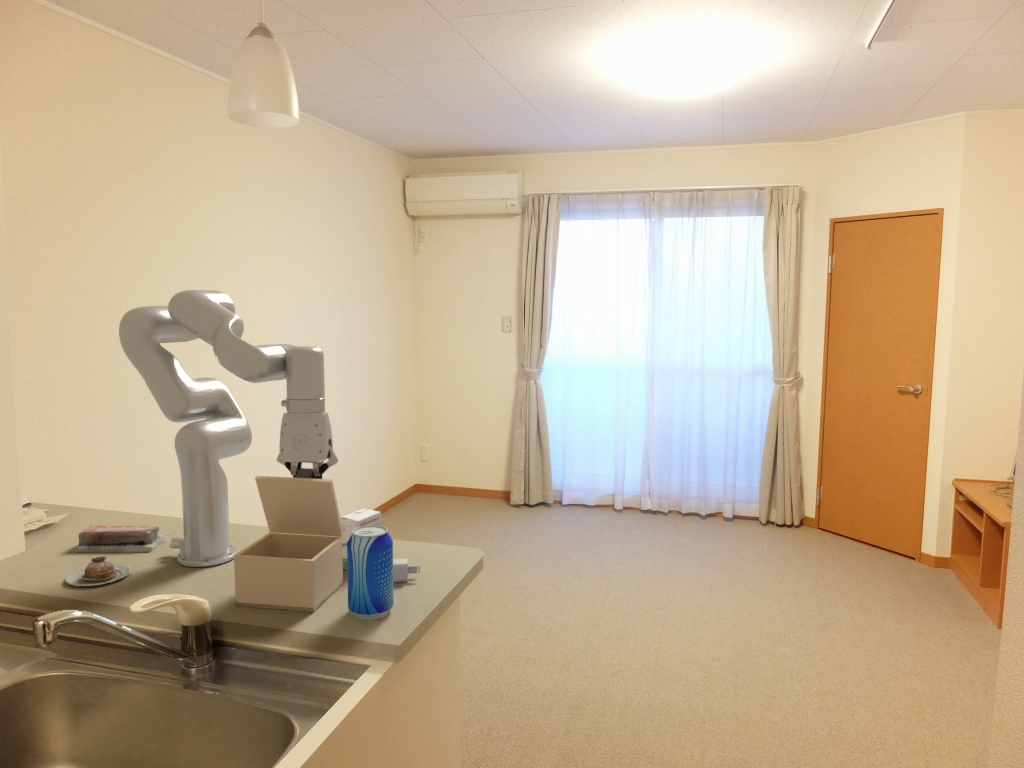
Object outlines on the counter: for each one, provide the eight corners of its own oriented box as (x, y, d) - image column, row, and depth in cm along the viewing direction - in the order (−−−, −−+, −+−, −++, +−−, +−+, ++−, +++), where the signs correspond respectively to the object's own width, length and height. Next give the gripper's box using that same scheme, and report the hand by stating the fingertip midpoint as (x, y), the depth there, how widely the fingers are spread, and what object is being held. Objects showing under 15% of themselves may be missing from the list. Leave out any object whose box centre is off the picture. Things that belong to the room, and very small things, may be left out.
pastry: (104, 592, 145) (103, 570, 144) (51, 588, 146) (50, 566, 146) (143, 571, 156) (142, 550, 156) (93, 567, 158) (92, 547, 158)
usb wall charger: (387, 576, 154) (387, 558, 153) (420, 575, 155) (420, 557, 154) (386, 583, 150) (386, 565, 149) (420, 582, 151) (419, 563, 150)
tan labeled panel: (255, 478, 144) (269, 458, 150) (269, 532, 150) (283, 511, 156) (330, 481, 141) (342, 462, 147) (342, 536, 148) (353, 515, 154)
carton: (235, 606, 138) (233, 555, 137) (270, 578, 151) (269, 532, 150) (314, 612, 135) (313, 561, 134) (342, 583, 149) (342, 537, 148)
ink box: (358, 573, 155) (357, 520, 154) (340, 569, 157) (339, 517, 156) (382, 561, 162) (382, 510, 161) (365, 557, 165) (364, 507, 163)
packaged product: (71, 534, 166) (94, 521, 175) (72, 554, 166) (95, 540, 176) (151, 533, 166) (169, 520, 176) (152, 553, 167) (170, 539, 177)
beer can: (361, 600, 141) (360, 521, 139) (400, 606, 138) (400, 525, 137) (339, 618, 133) (338, 534, 131) (380, 624, 130) (379, 539, 129)
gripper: (260, 407, 145) (262, 496, 147) (336, 410, 143) (338, 500, 145) (277, 402, 153) (280, 487, 155) (350, 405, 150) (352, 490, 152)
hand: (308, 492), depth 150 cm, fingers closed on tan labeled panel, 3 cm apart
